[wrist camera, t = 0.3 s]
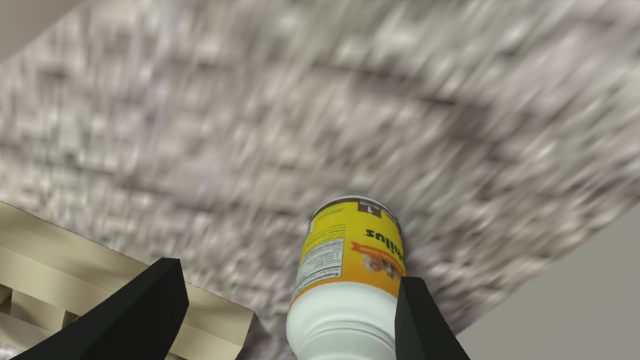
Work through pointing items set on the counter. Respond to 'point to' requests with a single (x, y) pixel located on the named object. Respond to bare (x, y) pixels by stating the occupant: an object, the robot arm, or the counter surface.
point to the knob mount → (93, 289)
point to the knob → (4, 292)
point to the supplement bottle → (347, 283)
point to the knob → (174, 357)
